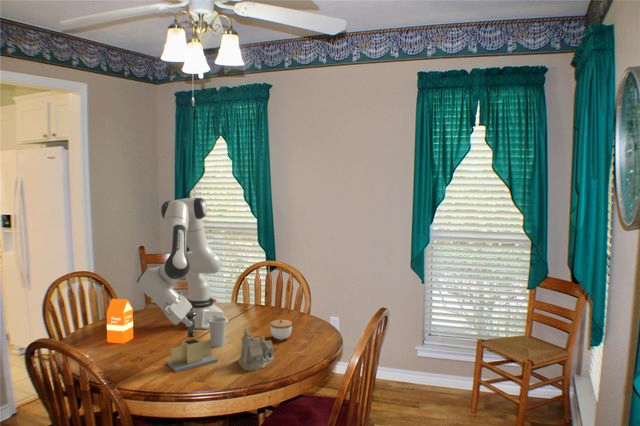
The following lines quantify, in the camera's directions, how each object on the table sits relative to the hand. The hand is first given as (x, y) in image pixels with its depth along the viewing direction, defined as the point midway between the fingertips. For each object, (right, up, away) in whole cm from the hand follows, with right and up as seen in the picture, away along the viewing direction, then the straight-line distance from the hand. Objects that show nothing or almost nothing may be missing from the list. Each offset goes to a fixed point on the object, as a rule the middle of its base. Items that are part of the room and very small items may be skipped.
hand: (192, 323), depth 193 cm
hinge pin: (-1, -5, 0) cm, 5 cm away
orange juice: (-42, -15, +27) cm, 52 cm away
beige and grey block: (-1, -16, +1) cm, 16 cm away
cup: (+5, -16, +23) cm, 28 cm away
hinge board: (-1, -17, +1) cm, 17 cm away
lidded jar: (+34, -15, +33) cm, 50 cm away
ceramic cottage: (+27, -18, +3) cm, 32 cm away
